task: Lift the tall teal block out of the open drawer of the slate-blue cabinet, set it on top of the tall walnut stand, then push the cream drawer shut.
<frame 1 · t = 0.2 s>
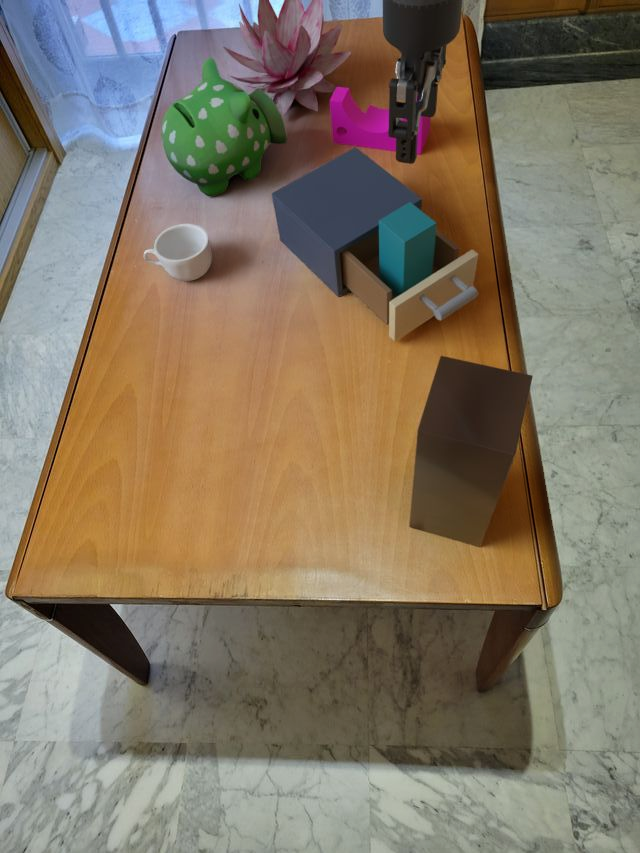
hand: (416, 137, 73), 21 cm above the table, tool pointing down, fingers open, 8 cm apart
piggy bank: (229, 173, 105), on the table
decorative flower: (292, 96, 114), on the table
toy block: (381, 137, 106), on the table
stand: (452, 505, 72), on the table
cabinet: (348, 244, 94), on the table
drawer: (412, 278, 84), point 4 cm above the table, slide at 10.5 cm, touching block
block: (405, 284, 87), point 2 cm above the table, touching drawer
teacup: (184, 270, 95), on the table
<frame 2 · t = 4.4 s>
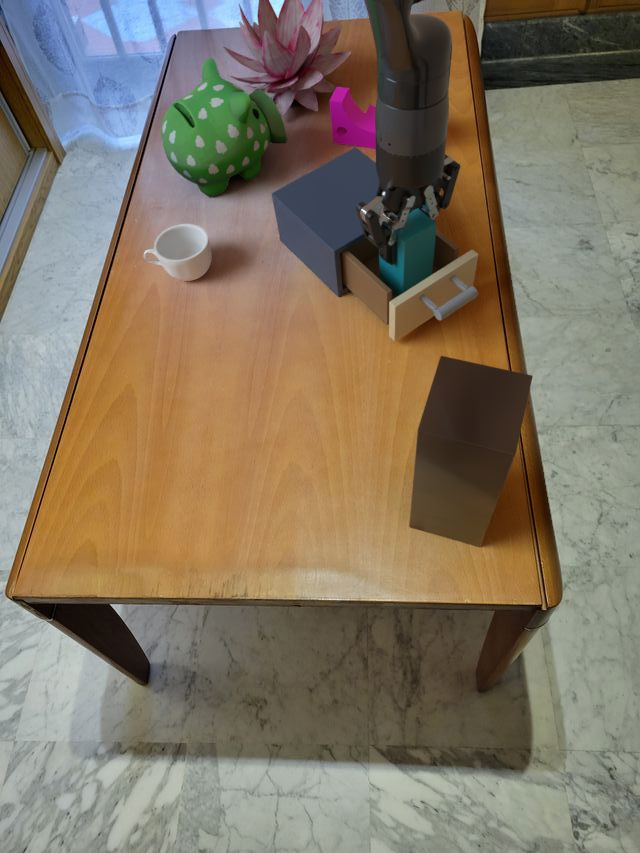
hand: (406, 249, 81), 9 cm above the table, tool pointing down, fingers closed on block, 5 cm apart
block: (405, 284, 87), point 2 cm above the table, touching drawer, gripper
everything else where it was.
when the fingers open (28 cm above the table, at t = 11.9 s): block stays where it is, resting on stand.
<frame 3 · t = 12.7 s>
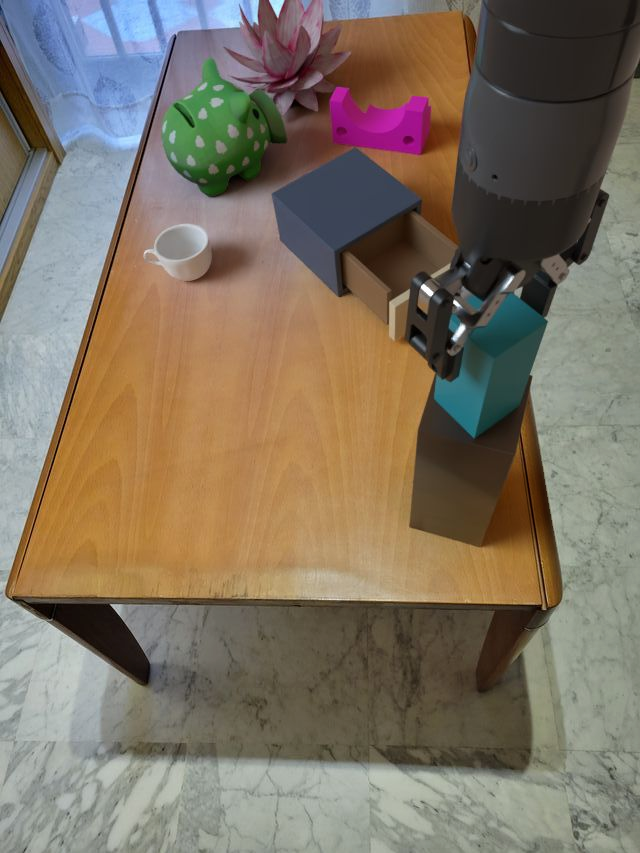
hand: (489, 341, 46), 30 cm above the table, tool pointing down, fingers open, 8 cm apart
drawer: (412, 278, 84), point 4 cm above the table, slide at 10.5 cm
block: (476, 402, 53), point 22 cm above the table, touching stand
everything else where it was.
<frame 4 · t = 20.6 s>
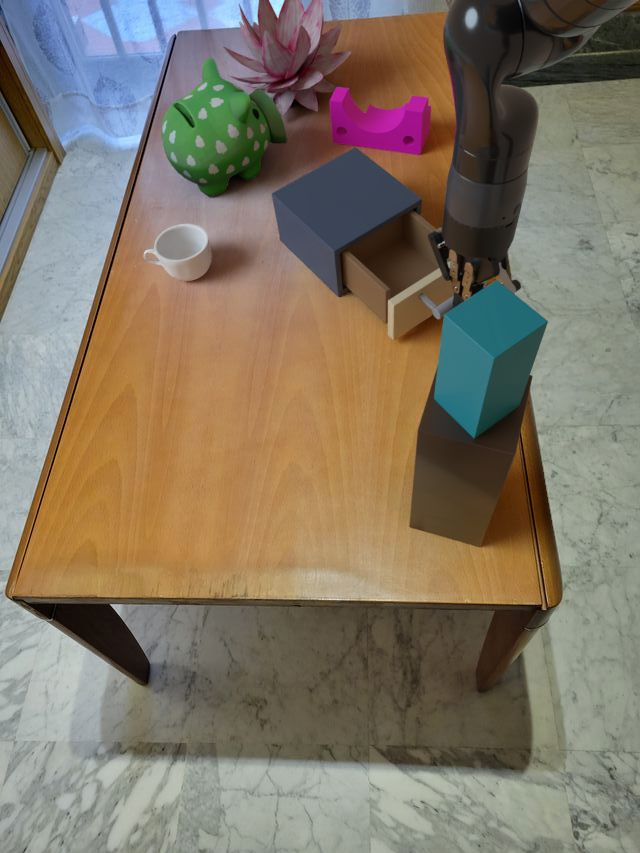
hand: (464, 312, 78), 6 cm above the table, tool pointing down, fingers closed
drawer: (411, 277, 84), point 4 cm above the table, slide at 10.2 cm, touching gripper
everything else where it was.
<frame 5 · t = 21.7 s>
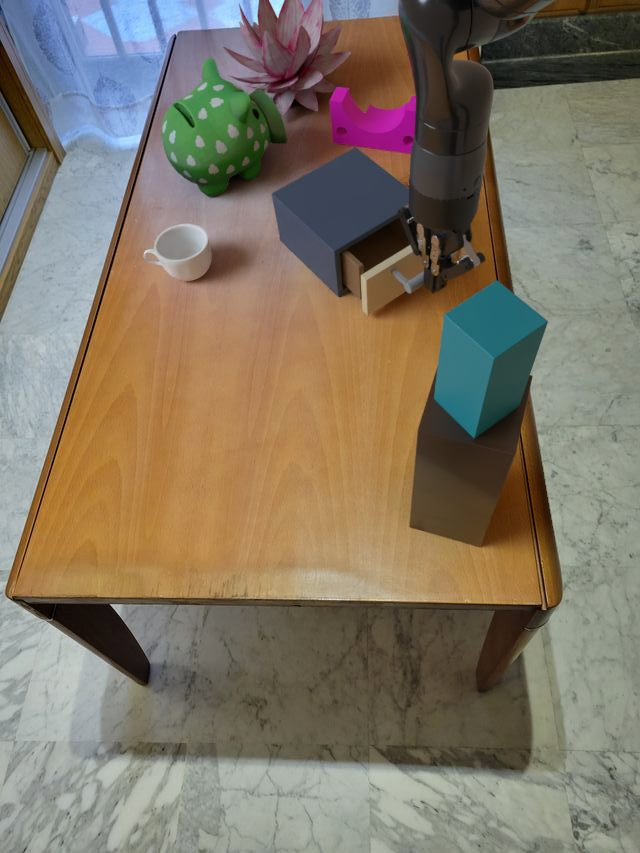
hand: (434, 287, 80), 6 cm above the table, tool pointing down, fingers closed
drawer: (385, 254, 87), point 4 cm above the table, slide at 4.7 cm, touching gripper
everything else where it was.
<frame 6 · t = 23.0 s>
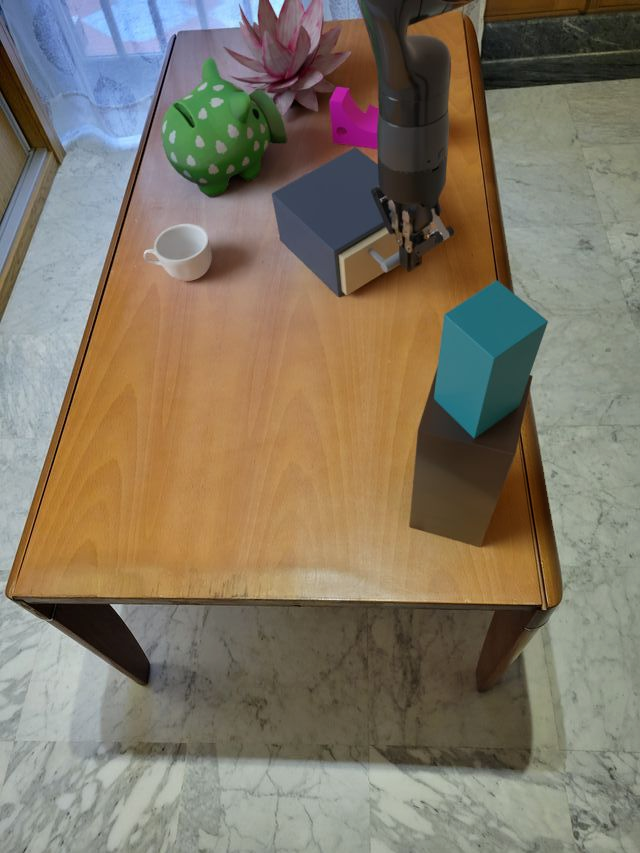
hand: (410, 266, 83), 6 cm above the table, tool pointing down, fingers closed
drawer: (363, 235, 89), point 4 cm above the table, slide at 0.0 cm, touching cabinet, gripper
everything else where it was.
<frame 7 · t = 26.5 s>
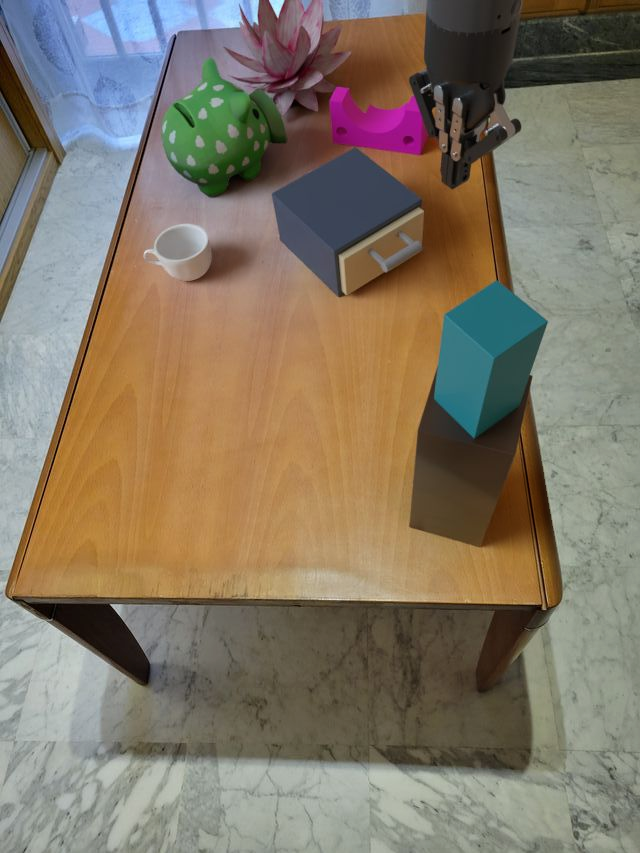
hand: (454, 182, 65), 23 cm above the table, tool pointing down, fingers closed
drawer: (363, 235, 89), point 4 cm above the table, slide at 0.0 cm
everything else where it was.
at the end: block inside the target area on the stand (0.0 cm from its centre), point 22.0 cm above the stand's base; drawer slide at 0.0 cm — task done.
